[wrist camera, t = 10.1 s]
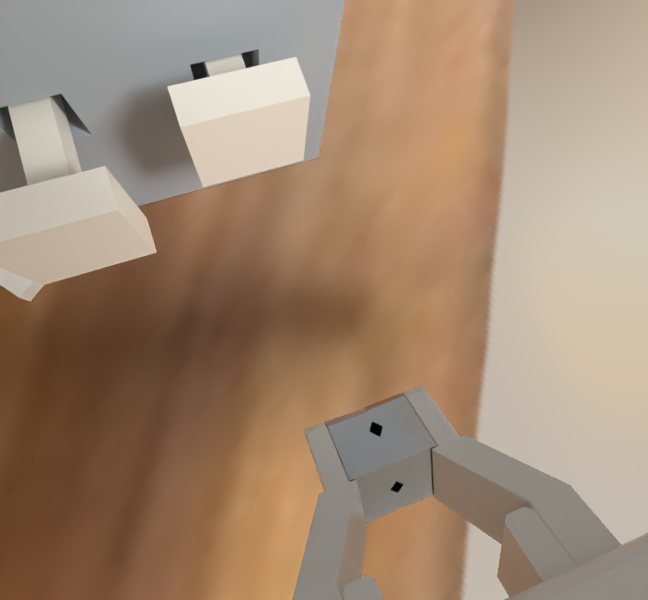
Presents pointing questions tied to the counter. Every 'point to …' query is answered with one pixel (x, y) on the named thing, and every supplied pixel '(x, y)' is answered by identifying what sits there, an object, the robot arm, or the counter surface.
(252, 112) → the button bottom right
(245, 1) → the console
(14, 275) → the card
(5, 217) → the button bottom left
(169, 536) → the counter surface
